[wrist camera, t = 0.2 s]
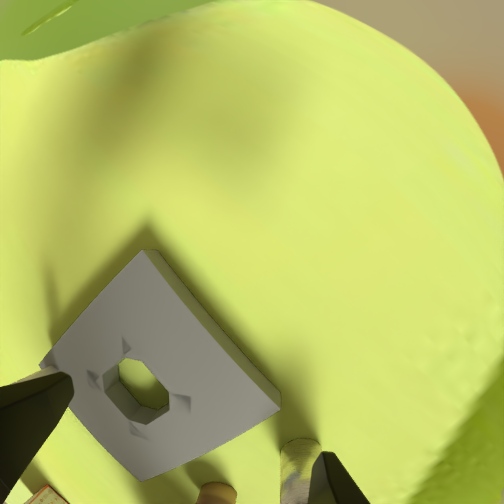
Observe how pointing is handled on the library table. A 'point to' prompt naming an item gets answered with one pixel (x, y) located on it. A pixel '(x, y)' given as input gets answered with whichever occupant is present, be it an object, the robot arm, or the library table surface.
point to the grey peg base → (158, 371)
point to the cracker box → (46, 497)
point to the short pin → (217, 494)
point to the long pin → (297, 470)
